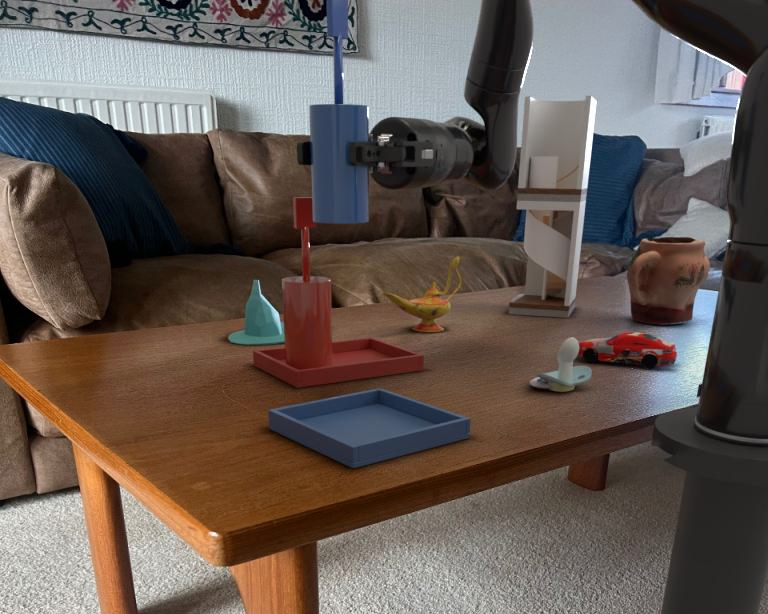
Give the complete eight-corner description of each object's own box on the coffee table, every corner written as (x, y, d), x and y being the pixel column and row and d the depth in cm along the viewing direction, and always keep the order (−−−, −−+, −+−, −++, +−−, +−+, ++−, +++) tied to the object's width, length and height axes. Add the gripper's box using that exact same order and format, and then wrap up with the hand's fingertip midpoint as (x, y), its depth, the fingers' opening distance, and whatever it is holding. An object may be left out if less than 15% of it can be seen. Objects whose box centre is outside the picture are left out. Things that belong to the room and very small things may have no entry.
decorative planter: (665, 335, 125) (679, 244, 119) (596, 325, 132) (607, 238, 127) (715, 320, 138) (729, 237, 133) (650, 311, 146) (661, 232, 140)
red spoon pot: (319, 360, 104) (315, 196, 96) (340, 370, 99) (338, 198, 91) (277, 365, 101) (270, 196, 93) (298, 375, 96) (292, 198, 88)
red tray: (371, 351, 112) (371, 337, 111) (423, 370, 102) (424, 355, 101) (253, 365, 103) (252, 350, 102) (297, 388, 93) (296, 371, 92)
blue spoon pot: (334, 218, 87) (330, 4, 79) (379, 221, 84) (380, -2, 76) (301, 222, 83) (292, -6, 74) (347, 225, 80) (344, -12, 71)
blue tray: (379, 405, 86) (380, 387, 86) (469, 438, 76) (470, 418, 75) (268, 428, 78) (267, 409, 77) (353, 468, 68) (352, 447, 67)
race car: (571, 361, 107) (574, 332, 106) (580, 354, 112) (583, 325, 110) (671, 372, 102) (676, 341, 100) (677, 363, 106) (681, 334, 105)
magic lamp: (364, 333, 123) (364, 261, 119) (444, 321, 134) (447, 254, 130) (394, 340, 119) (395, 265, 114) (474, 327, 130) (478, 257, 125)
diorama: (346, 327, 128) (346, 273, 125) (270, 349, 112) (267, 287, 109) (287, 319, 134) (285, 267, 130) (206, 339, 118) (202, 280, 115)
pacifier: (517, 387, 95) (555, 397, 90) (521, 335, 92) (559, 342, 88) (559, 379, 99) (596, 388, 94) (563, 329, 96) (602, 335, 92)
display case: (518, 304, 152) (534, 101, 138) (574, 308, 149) (596, 101, 135) (508, 313, 142) (524, 96, 128) (567, 317, 139) (591, 95, 125)
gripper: (361, 119, 93) (268, 113, 81) (468, 117, 86) (385, 110, 74) (361, 186, 97) (272, 191, 84) (464, 190, 89) (385, 196, 77)
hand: (326, 153), depth 79 cm, fingers closed on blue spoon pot, 6 cm apart
